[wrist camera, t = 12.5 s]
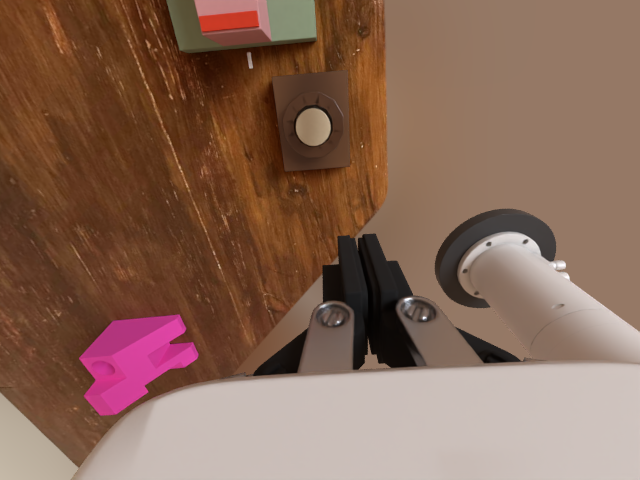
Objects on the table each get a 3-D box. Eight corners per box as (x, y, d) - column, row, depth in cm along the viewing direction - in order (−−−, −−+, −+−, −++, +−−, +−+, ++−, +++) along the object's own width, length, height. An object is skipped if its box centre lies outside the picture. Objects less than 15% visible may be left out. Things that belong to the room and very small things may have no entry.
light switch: (345, 71, 30) (349, 68, 27) (348, 162, 35) (351, 170, 31) (274, 78, 30) (268, 75, 27) (286, 167, 35) (282, 175, 31)
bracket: (138, 359, 52) (100, 415, 43) (113, 320, 47) (64, 373, 38) (198, 354, 52) (172, 410, 42) (179, 314, 47) (145, 367, 38)
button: (328, 106, 28) (329, 106, 27) (330, 142, 30) (331, 144, 29) (294, 109, 29) (293, 110, 27) (298, 144, 30) (297, 147, 29)
